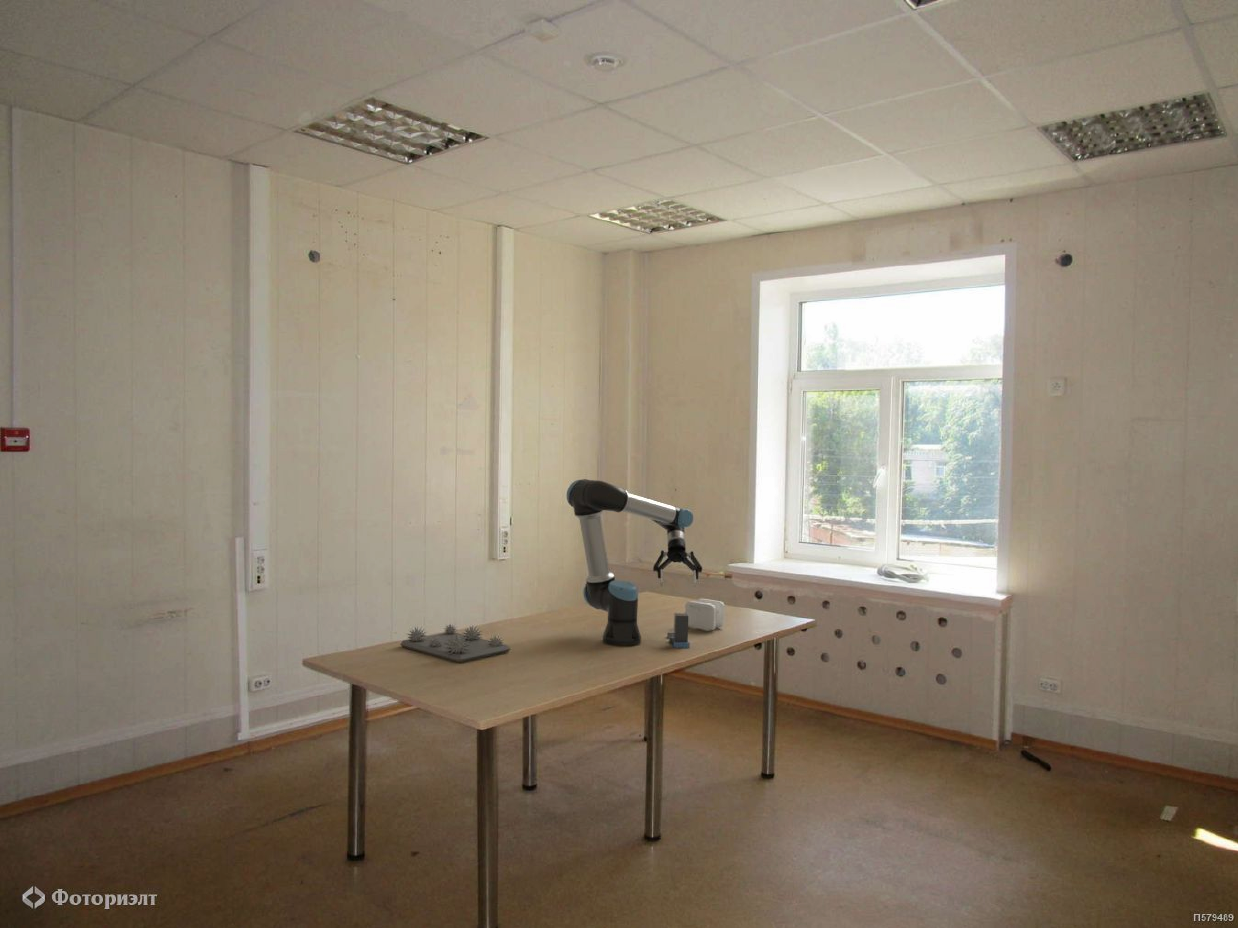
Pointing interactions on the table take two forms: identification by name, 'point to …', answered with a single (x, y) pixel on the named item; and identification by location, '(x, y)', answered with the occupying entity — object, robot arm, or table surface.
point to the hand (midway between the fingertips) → (678, 584)
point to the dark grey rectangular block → (680, 627)
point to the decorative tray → (455, 644)
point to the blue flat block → (680, 644)
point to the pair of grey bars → (670, 636)
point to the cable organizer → (705, 614)
